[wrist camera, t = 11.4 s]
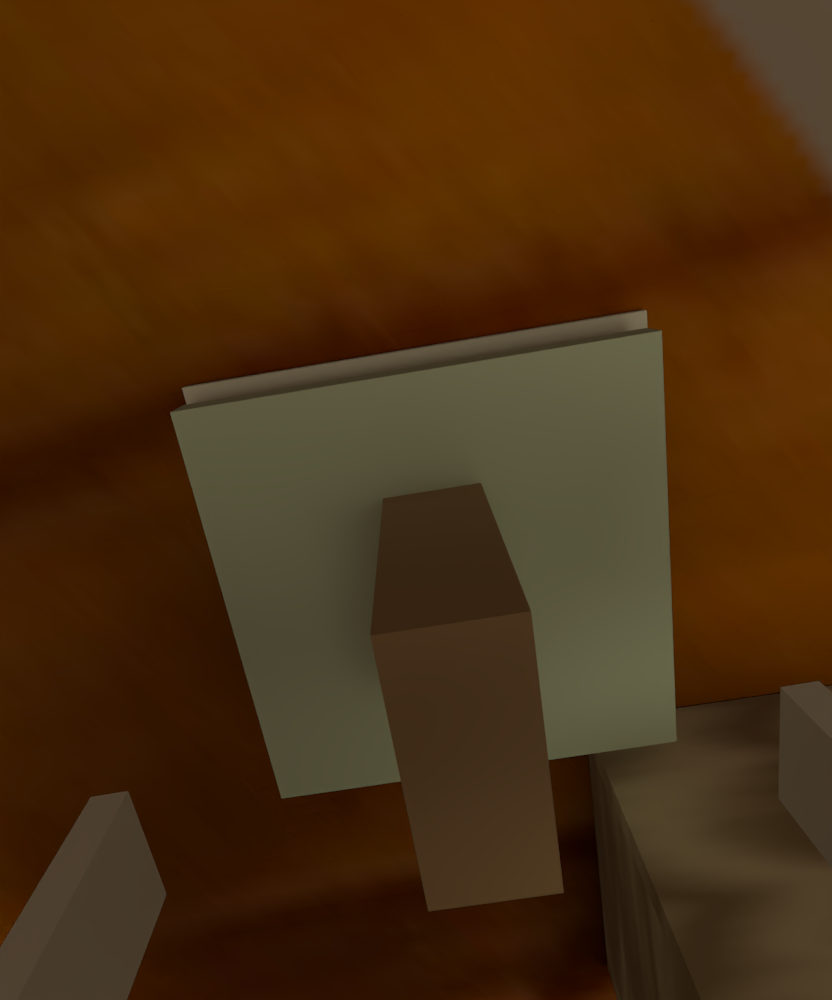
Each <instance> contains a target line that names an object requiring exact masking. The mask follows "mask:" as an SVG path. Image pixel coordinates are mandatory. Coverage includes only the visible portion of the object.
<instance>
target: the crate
mask: <svg viewBox="0 0 832 1000" xmlns="http://www.w3.org/2000/svg"><path fill="white" fill-rule="evenodd" d="M825 687H826V688H827V689H829V690H830V691H831V692H832V686H825ZM675 709H676V736H677V741H676V742H670V743H663V744H656V745H649V746H642V747H635V748H628V749H621V750H614V751H607V752H600V753H593V754H588V756H589V767H590V778H591V789H592V800H593V811H594V822H595V833H596V844H597V855H598V866H599V877H600V888H601V899H602V910H603V921H604V932H605V943H606V954H607V965H608V970H609V973H610V976H611V980H612V983H613V986H614V990H615V993H616V996H617V1000H832V867H831V866H830V865H829V864H828V862H827V861H826V860H825V858H824V857H823V856H822V854H821V853H820V852H819V851H818V849H817V848H816V847H815V845H814V844H813V843H812V841H811V840H810V839H809V837H808V836H807V835H806V834H805V832H804V831H803V830H802V828H801V827H800V826H799V824H798V823H797V822H796V821H795V819H794V818H793V817H792V815H791V814H790V813H789V811H788V810H787V809H786V808H785V806H784V805H783V804H782V802H781V801H780V800H779V798H778V793H779V735H780V693H778V694H771V695H764V696H757V697H750V698H743V699H737V700H730V701H723V702H716V703H709V704H702V705H696V706H689V707H682V708H675Z"/></svg>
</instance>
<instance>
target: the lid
mask: <svg viewBox="0 0 832 1000" xmlns="http://www.w3.org/2000/svg"><path fill="white" fill-rule="evenodd" d="M170 414H171V418H172V421H173V425H174V428H175V432H176V435H177V439H178V442H179V445H180V449H181V452H182V456H183V459H184V463H185V466H186V470H187V473H188V477H189V480H190V484H191V487H192V490H193V494H194V497H195V501H196V504H197V508H198V511H199V515H200V518H201V522H202V525H203V529H204V532H205V535H206V539H207V542H208V546H209V549H210V553H211V556H212V560H213V563H214V567H215V570H216V574H217V577H218V580H219V584H220V587H221V591H222V594H223V598H224V601H225V605H226V608H227V612H228V615H229V618H230V622H231V625H232V629H233V632H234V636H235V639H236V643H237V646H238V650H239V653H240V657H241V660H242V663H243V667H244V670H245V674H246V677H247V681H248V684H249V688H250V691H251V695H252V698H253V702H254V705H255V708H256V712H257V715H258V719H259V722H260V726H261V729H262V733H263V736H264V740H265V743H266V747H267V750H268V753H269V757H270V760H271V764H272V767H273V771H274V774H275V778H276V781H277V785H278V788H279V792H280V795H281V798H289V797H296V796H303V795H310V794H317V793H324V792H331V791H338V790H345V789H351V788H358V787H365V786H372V785H379V784H386V783H393V782H400V781H401V784H402V789H403V794H404V799H405V803H406V808H407V813H408V818H409V822H410V827H411V832H412V837H413V841H414V846H415V851H416V856H417V860H418V865H419V870H420V875H421V879H422V884H423V889H424V894H425V898H426V903H427V908H428V911H436V910H443V909H450V908H457V907H465V906H472V905H479V904H486V903H494V902H501V901H508V900H515V899H523V898H530V897H537V896H545V895H552V894H559V893H564V890H563V881H562V872H561V864H560V855H559V847H558V838H557V829H556V821H555V812H554V804H553V795H552V786H551V778H550V769H549V761H548V760H552V759H559V758H566V757H573V756H580V755H587V754H593V753H600V752H607V751H614V750H621V749H628V748H635V747H642V746H649V745H656V744H663V743H670V742H676V741H677V736H676V709H675V681H674V653H673V626H672V598H671V570H670V543H669V515H668V488H667V460H666V432H665V405H664V377H663V350H662V331H661V330H655V329H650V328H643V329H637V330H631V331H625V332H619V333H613V334H607V335H601V336H595V337H589V338H583V339H577V340H571V341H565V342H559V343H553V344H547V345H541V346H535V347H529V348H523V349H517V350H511V351H505V352H499V353H493V354H487V355H481V356H475V357H469V358H463V359H457V360H451V361H445V362H438V363H432V364H426V365H420V366H414V367H408V368H402V369H396V370H390V371H384V372H378V373H372V374H366V375H360V376H354V377H348V378H342V379H336V380H330V381H324V382H318V383H312V384H306V385H300V386H294V387H288V388H282V389H276V390H270V391H264V392H258V393H252V394H246V395H240V396H234V397H228V398H222V399H216V400H210V401H204V402H198V403H192V404H186V405H182V406H181V407H179V408H177V409H175V410H173V411H172V412H170Z"/></svg>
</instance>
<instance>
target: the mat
mask: <svg viewBox="0 0 832 1000" xmlns="http://www.w3.org/2000/svg"><path fill="white" fill-rule="evenodd" d="M643 328H647V310H638V311H632V312H626V313H620V314H614V315H608V316H602V317H596V318H590V319H584V320H578V321H572V322H566V323H560V324H554V325H548V326H543V327H537V328H531V329H525V330H519V331H513V332H507V333H501V334H495V335H489V336H483V337H477V338H471V339H465V340H459V341H453V342H447V343H441V344H435V345H429V346H423V347H417V348H411V349H405V350H399V351H393V352H387V353H381V354H375V355H369V356H363V357H357V358H351V359H345V360H340V361H334V362H328V363H322V364H316V365H310V366H304V367H298V368H292V369H286V370H280V371H274V372H268V373H262V374H256V375H250V376H244V377H238V378H232V379H226V380H220V381H214V382H208V383H202V384H196V385H190V386H185V387H183V388H182V390H183V394H184V397H185V401H186V404H192V403H198V402H204V401H210V400H216V399H222V398H228V397H234V396H240V395H246V394H252V393H258V392H264V391H270V390H276V389H282V388H288V387H294V386H300V385H306V384H312V383H318V382H324V381H330V380H336V379H342V378H348V377H354V376H360V375H366V374H372V373H378V372H384V371H390V370H396V369H402V368H408V367H414V366H420V365H426V364H432V363H438V362H445V361H451V360H457V359H463V358H469V357H475V356H481V355H487V354H493V353H499V352H505V351H511V350H517V349H523V348H529V347H535V346H541V345H547V344H553V343H559V342H565V341H571V340H577V339H583V338H589V337H595V336H601V335H607V334H613V333H619V332H625V331H631V330H637V329H643Z"/></svg>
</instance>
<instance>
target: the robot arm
mask: <svg viewBox="0 0 832 1000" xmlns="http://www.w3.org/2000/svg"><path fill="white" fill-rule="evenodd" d="M778 798H779V800H780V801H781V802H782V804H783V805H784V806H785V808H786V809H787V810H788V811H789V813H790V814H791V815H792V817H793V818H794V819H795V821H796V822H797V823H798V824H799V826H800V827H801V828H802V830H803V831H804V832H805V834H806V835H807V836H808V837H809V839H810V840H811V841H812V843H813V844H814V845H815V847H816V848H817V849H818V851H819V852H820V853H821V854H822V856H823V857H824V858H825V860H826V861H827V862H828V864H829V865H830V866H831V867H832V692H831V691H830V690H829V689H827V688H826V687H825V686H824V685H823V684H822V683H821V682H820V681H815V682H809V683H803V684H796V685H790V686H784V687H780V735H779V793H778ZM166 895H167V894H166V891H165V888H164V886H163V883H162V880H161V878H160V875H159V872H158V870H157V867H156V864H155V862H154V859H153V856H152V854H151V851H150V848H149V846H148V843H147V840H146V837H145V835H144V832H143V829H142V827H141V824H140V821H139V819H138V816H137V813H136V811H135V808H134V805H133V803H132V800H131V797H130V795H129V792H128V791H125V792H119V793H112V794H106V795H100V796H94V797H90V799H89V801H88V802H87V804H86V806H85V807H84V809H83V811H82V812H81V814H80V816H79V817H78V819H77V821H76V822H75V824H74V826H73V827H72V829H71V831H70V832H69V834H68V836H67V837H66V839H65V841H64V842H63V844H62V846H61V847H60V849H59V851H58V852H57V854H56V856H55V857H54V859H53V861H52V862H51V864H50V866H49V867H48V869H47V871H46V872H45V874H44V876H43V877H42V879H41V881H40V882H39V884H38V886H37V887H36V889H35V890H34V892H33V894H32V895H31V897H30V899H29V900H28V902H27V904H26V905H25V907H24V909H23V910H22V912H21V914H20V915H19V917H18V919H17V920H16V922H15V924H14V925H13V927H12V929H11V930H10V932H9V934H8V935H7V937H6V939H5V940H4V942H3V944H2V945H1V947H0V1000H127V998H128V995H129V993H130V990H131V987H132V985H133V982H134V979H135V977H136V974H137V971H138V969H139V966H140V964H141V961H142V958H143V956H144V953H145V950H146V948H147V945H148V942H149V940H150V937H151V934H152V932H153V929H154V926H155V924H156V921H157V918H158V916H159V913H160V910H161V908H162V905H163V903H164V900H165V897H166Z"/></svg>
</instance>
